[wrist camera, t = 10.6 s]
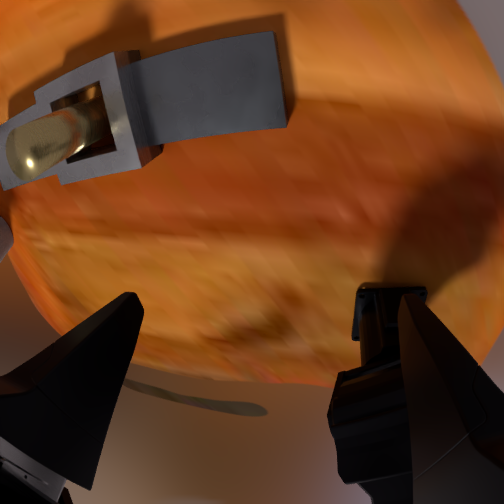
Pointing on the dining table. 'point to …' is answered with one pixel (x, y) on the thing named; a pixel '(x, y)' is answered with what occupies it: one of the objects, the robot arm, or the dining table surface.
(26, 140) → the brass pin
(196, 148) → the dining table surface
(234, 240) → the dining table surface
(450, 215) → the dining table surface
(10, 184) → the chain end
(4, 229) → the house plant
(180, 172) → the dining table surface
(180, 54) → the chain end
